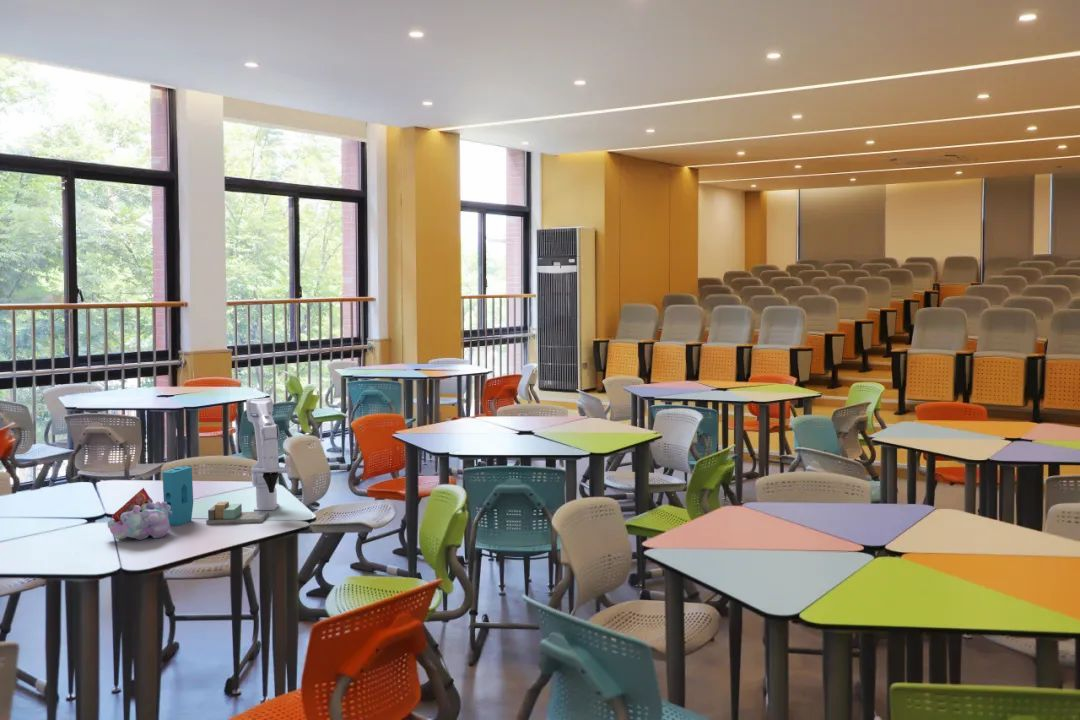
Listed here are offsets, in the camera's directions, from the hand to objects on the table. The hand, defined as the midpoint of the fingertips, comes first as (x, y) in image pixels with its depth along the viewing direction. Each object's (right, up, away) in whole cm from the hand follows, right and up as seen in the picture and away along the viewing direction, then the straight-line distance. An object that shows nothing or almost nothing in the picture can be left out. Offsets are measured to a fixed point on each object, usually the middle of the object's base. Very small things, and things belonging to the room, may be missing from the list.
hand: (271, 492), depth 350 cm
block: (-33, -11, -6) cm, 35 cm away
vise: (-12, -10, -3) cm, 16 cm away
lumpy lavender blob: (-39, -12, -26) cm, 48 cm away
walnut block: (-17, -9, -4) cm, 20 cm away
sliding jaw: (-14, -8, -3) cm, 16 cm away
